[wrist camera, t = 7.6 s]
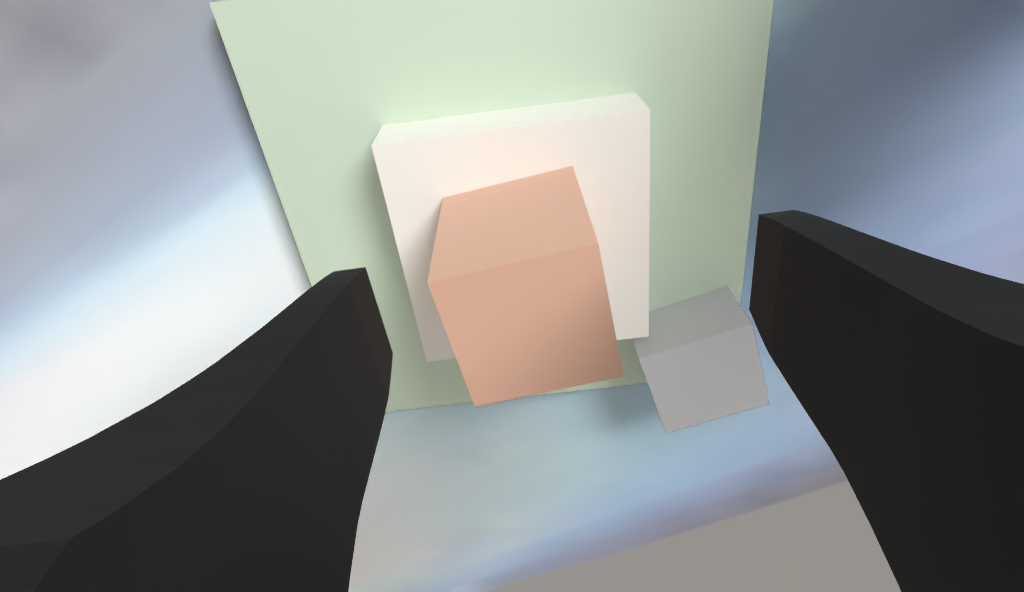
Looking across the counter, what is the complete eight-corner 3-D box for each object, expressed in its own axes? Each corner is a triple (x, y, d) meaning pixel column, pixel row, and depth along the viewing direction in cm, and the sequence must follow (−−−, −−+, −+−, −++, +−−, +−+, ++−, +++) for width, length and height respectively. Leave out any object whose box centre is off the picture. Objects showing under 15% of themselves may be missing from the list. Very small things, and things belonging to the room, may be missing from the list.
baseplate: (767, -78, 17) (782, -79, 16) (724, 358, 25) (732, 373, 24) (223, -1, 17) (209, 3, 16) (362, 398, 26) (357, 414, 25)
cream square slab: (635, 92, 18) (650, 109, 16) (636, 305, 22) (648, 336, 21) (382, 125, 18) (371, 145, 17) (431, 329, 23) (426, 361, 21)
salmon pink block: (572, 165, 17) (598, 243, 13) (594, 278, 19) (623, 376, 15) (442, 197, 18) (426, 282, 13) (478, 304, 20) (474, 407, 15)
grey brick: (727, 285, 22) (752, 323, 20) (745, 361, 24) (769, 403, 22) (625, 319, 23) (638, 359, 20) (651, 390, 25) (666, 433, 23)
